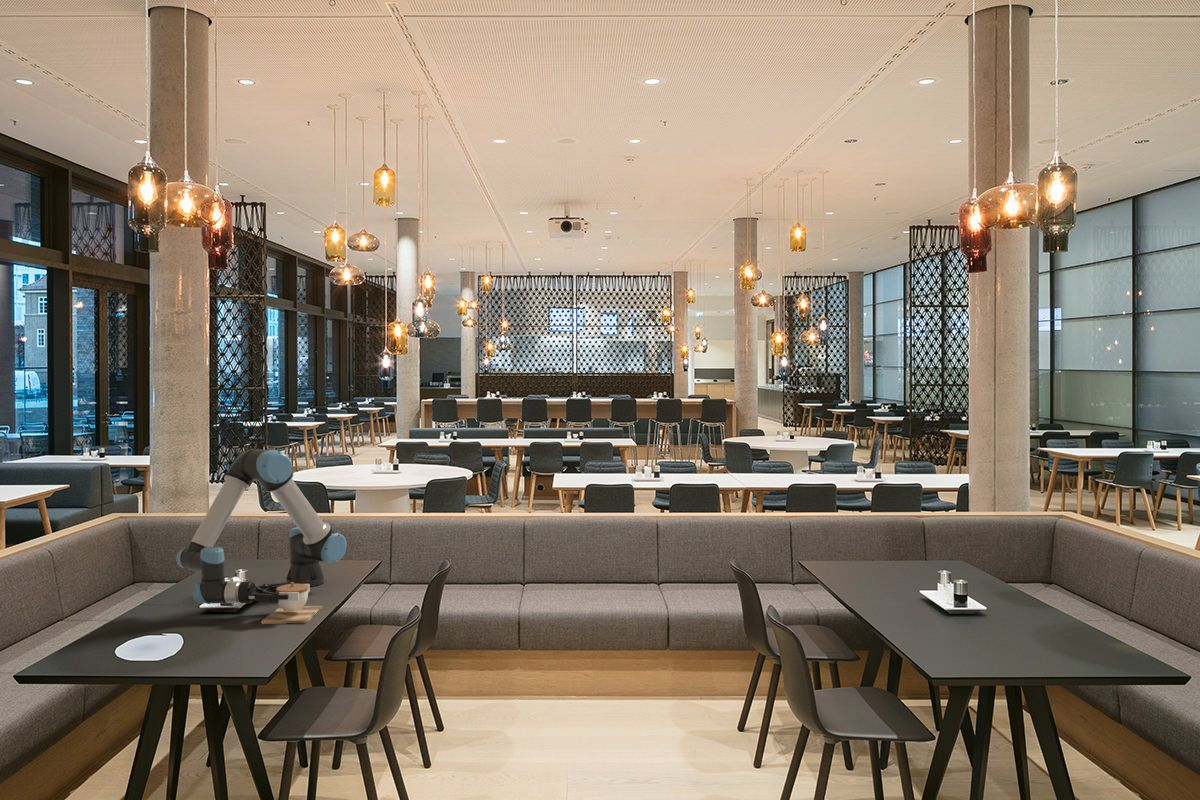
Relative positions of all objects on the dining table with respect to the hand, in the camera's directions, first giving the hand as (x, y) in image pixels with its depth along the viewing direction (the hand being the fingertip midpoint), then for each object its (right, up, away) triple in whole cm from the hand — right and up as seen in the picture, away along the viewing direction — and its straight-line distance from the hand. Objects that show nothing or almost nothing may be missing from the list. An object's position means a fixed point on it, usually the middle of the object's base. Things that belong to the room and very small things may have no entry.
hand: (304, 592), depth 305 cm
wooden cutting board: (-4, -9, 0) cm, 9 cm away
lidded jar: (-4, -6, 0) cm, 8 cm away
